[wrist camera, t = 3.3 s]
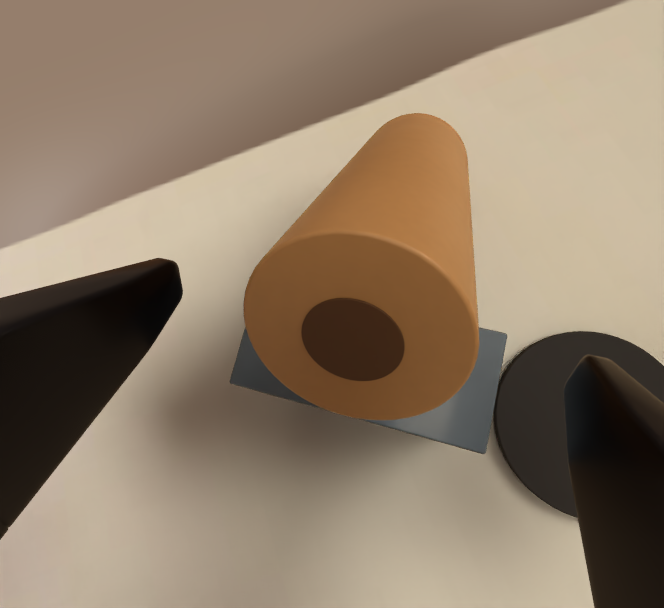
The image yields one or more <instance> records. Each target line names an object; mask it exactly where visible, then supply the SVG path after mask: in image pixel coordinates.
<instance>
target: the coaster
mask: <svg viewBox="0 0 664 608" xmlns="http://www.w3.org/2000/svg"><path fill="white" fill-rule="evenodd" d="M586 355H594V356H599V357H603V358H608V359H610V360H612V361H613V362H615V363H616V364H617V365H618V366H619V367H621V368H622V369H623V370H624V371H625V372H627V373H628V374H629V375H630V376H631V377H633V378H634V379H635V380H636V381H637V382H639V383H640V384H641V385H642V386H643V387H645V388H646V389H647V390H648V391H649V392H651V393H652V394H653V395H654V396H656V397H657V398H658V399H659V400H660V401H662V402H663V403H664V366H663V365H662V364H661V363H660V362H658V361H657V360H656V359H655V358H654V357H653V356H651V355H650V354H648V353H647V352H646V351H644V350H643V349H641V348H639V347H637V346H636V345H634V344H632V343H630V342H628V341H625V340H623V339H620V338H618V337H614V336H611V335H607V334H603V333H596V332H583V331H579V332H568V333H563V334H558V335H553V336H551V337H548V338H545V339H542V340H540V341H538V342H536V343H534V344H532V345H531V346H529V347H528V348H527V349H525V350H524V351H523V352H521V353H520V354H519V355H518V356H517V357H516V358H515V359H514V360H513V362H512V363H511V364H510V365H509V366H508V368H507V370H506V371H505V373H504V375H503V376H502V379H501V381H500V383H499V386H498V389H497V394H496V400H495V405H494V424H495V431H496V435H497V439H498V442H499V446H500V448H501V450H502V453H503V455H504V457H505V459H506V461H507V462H508V464H509V466H510V468H511V469H512V470H513V472H514V473H515V474H516V476H517V477H518V478H519V479H520V481H521V482H522V483H523V484H524V485H525V486H526V487H527V488H528V489H529V490H530V491H532V492H533V493H534V494H535V495H536V496H537V497H539V498H540V499H541V500H543V501H544V502H546V503H547V504H549V505H550V506H552V507H554V508H556V509H558V510H560V511H562V512H564V513H566V514H569V515H571V516H574V517H577V518H578V516H577V510H576V505H575V500H574V494H573V489H572V484H571V478H570V473H569V466H568V458H567V445H566V428H565V411H564V386H565V384H566V382H567V380H568V378H569V377H570V375H571V374H572V372H573V371H574V369H575V368H576V366H577V365H578V363H579V362H580V360H581V359H582V358H583V357H584V356H586Z"/></svg>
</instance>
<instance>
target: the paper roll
mask: <svg viewBox="0 0 664 608" xmlns="http://www.w3.org/2000/svg"><path fill="white" fill-rule="evenodd" d="M244 319H245V326H246V329H247V333H248V336H249V339H250V341H251V343H252V345H253V348H254V349H255V351H256V353H257V354H258V356H259V358H260V359H261V361H262V362H263V363H264V365H265V366H266V367H267V369H268V370H269V371H270V372H271V373H272V374H273V375H274V376H275V377H276V378H277V379H278V380H279V381H280V382H281V383H282V384H284V385H285V386H286V387H287V388H289V389H290V390H291V391H293V392H294V393H295V394H297V395H299V396H300V397H302V398H303V399H305V400H307V401H309V402H311V403H313V404H315V405H317V406H319V407H321V408H324V409H326V410H329V411H331V412H335V413H338V414H341V415H345V416H349V417H353V418H360V419H366V420H396V419H404V418H409V417H413V416H417V415H420V414H423V413H426V412H428V411H431V410H433V409H435V408H437V407H439V406H440V405H442V404H443V403H445V402H446V401H448V400H449V399H451V398H452V397H453V396H454V395H455V394H456V393H457V392H458V391H459V390H460V389H461V388H462V386H463V385H464V384H465V382H466V381H467V380H468V378H469V376H470V374H471V372H472V371H473V369H474V366H475V363H476V360H477V357H478V350H479V326H478V311H477V296H476V281H475V266H474V250H473V235H472V220H471V205H470V190H469V175H468V160H467V153H466V149H465V146H464V143H463V142H462V140H461V138H460V136H459V135H458V133H457V132H456V131H455V130H454V129H453V128H452V127H451V126H450V125H449V124H448V123H446V122H445V121H443V120H441V119H440V118H437V117H435V116H432V115H428V114H420V113H414V114H406V115H402V116H399V117H397V118H394V119H392V120H390V121H389V122H387V123H386V124H384V125H383V126H382V127H381V128H380V129H378V130H377V131H376V133H375V134H374V135H373V136H372V137H371V138H370V139H369V140H368V141H367V143H366V144H365V145H364V146H363V147H362V148H361V149H360V150H359V151H358V153H357V154H356V155H355V156H354V157H353V158H352V159H351V160H350V161H349V163H348V164H347V165H346V166H345V167H344V168H343V169H342V170H341V171H340V173H339V174H338V175H337V176H336V177H335V178H334V179H333V180H332V182H331V183H330V184H329V185H328V186H327V187H326V188H325V189H324V190H323V192H322V193H321V194H320V195H319V196H318V197H317V198H316V199H315V200H314V202H313V203H312V204H311V205H310V206H309V207H308V208H307V209H306V210H305V212H304V213H303V214H302V215H301V216H300V217H299V218H298V219H297V221H296V222H295V223H294V224H293V225H292V226H291V227H290V228H289V229H288V231H287V232H286V233H285V234H284V235H283V236H282V237H281V238H280V239H279V241H278V242H277V243H276V244H275V245H274V246H273V247H272V248H271V249H270V251H269V252H268V253H267V254H266V255H265V256H264V257H263V259H262V260H261V261H260V262H259V264H258V265H257V266H256V267H255V269H254V271H253V273H252V275H251V276H250V278H249V281H248V284H247V287H246V291H245V298H244Z"/></svg>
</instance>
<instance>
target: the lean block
mask: <svg viewBox="0 0 664 608" xmlns="http://www.w3.org/2000/svg"><path fill="white" fill-rule="evenodd" d="M506 339H507V334H505V333H502V332H497V331H493V330H488V329H484V328H479V350H478V357H477V360H476V363H475V366H474V369H473V371H472V372H471V374H470V376H469V378H468V380H467V381H466V382H465V384H464V385H463V386H462V388H461V389H460V390H459V391H458V392H457V393H456V394H455V395H454V396H453V397H452V398H451V399H449V400H448V401H446V402H445V403H443V404H442V405H440V406H439V407H437V408H435V409H433V410H431V411H428V412H426V413H423V414H420V415H417V416H413V417H409V418H404V419H396V420H366V419H360V418H355V419H359V420H363V421H366V422H370V423H373V424H377V425H381V426H384V427H388V428H391V429H395V430H398V431H402V432H406V433H409V434H413V435H416V436H420V437H423V438H427V439H431V440H434V441H438V442H441V443H445V444H449V445H452V446H456V447H459V448H463V449H466V450H470V451H474V452H477V453H481V454H485V453H486V449H487V444H488V438H489V433H490V427H491V422H492V416H493V411H494V405H495V400H496V394H497V389H498V383H499V378H500V372H501V367H502V361H503V356H504V350H505V345H506ZM230 383H231V384H234V385H237V386H241V387H244V388H248V389H252V390H255V391H259V392H262V393H266V394H269V395H273V396H277V397H280V398H284V399H287V400H291V401H295V402H298V403H302V404H305V405H309V406H312V407H316V408H320V409H323V410H326V409H324V408H321V407H319V406H317V405H315V404H313V403H311V402H309V401H307V400H305V399H303V398H302V397H300V396H299V395H297V394H295V393H294V392H293V391H291V390H290V389H289V388H287V387H286V386H285V385H284V384H282V383H281V382H280V381H279V380H278V379H277V378H276V377H275V376H274V375H273V374H272V373H271V372H270V371H269V370H268V369H267V367H266V366H265V365H264V363H263V362H262V361H261V359H260V358H259V356H258V354H257V353H256V351H255V349H254V348H253V345H252V343H251V341H250V339H249V336H248V333H247V329H246V326H245V330H244V333H243V337H242V340H241V344H240V347H239V351H238V354H237V358H236V361H235V365H234V368H233V372H232V375H231V379H230ZM327 411H329V410H327ZM330 412H331V411H330ZM334 413H335V412H334ZM348 417H349V416H348ZM352 418H353V417H352Z"/></svg>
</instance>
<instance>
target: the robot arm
mask: <svg viewBox="0 0 664 608" xmlns="http://www.w3.org/2000/svg"><path fill="white" fill-rule="evenodd" d="M182 294H183V289H182V284H181V278H180V273H179V268H178V265H177V264H176V263H175V262H174V261H171V260H167V259H162V258H156V259H152V260H148V261H144V262H140V263H136V264H132V265H128V266H124V267H121V268H117V269H113V270H109V271H105V272H101V273H97V274H93V275H89V276H85V277H81V278H77V279H73V280H70V281H66V282H62V283H58V284H54V285H50V286H46V287H42V288H38V289H34V290H30V291H26V292H22V293H19V294H15V295H11V296H7V297H3V298H0V539H1V538H2V537H3V536H4V534H5V533H6V532H7V530H8V527H10V526H11V525H12V524H13V522H14V521H15V520H16V519H17V517H18V516H19V515H20V514H21V512H22V511H23V510H24V508H25V507H26V506H27V505H28V503H29V502H30V501H31V500H32V498H33V497H34V496H35V494H36V493H37V492H38V491H39V489H40V488H41V487H42V486H43V484H44V483H45V482H46V480H47V479H48V478H49V477H50V475H51V474H52V473H53V472H54V470H55V469H56V468H57V466H58V465H59V464H60V463H61V461H62V460H63V459H64V458H65V456H66V455H67V454H68V453H69V451H70V450H71V449H72V447H73V446H74V445H75V444H76V442H77V441H78V440H79V439H80V437H81V436H82V435H83V433H84V432H85V431H86V430H87V428H88V427H89V426H90V425H91V423H92V422H93V421H94V419H95V418H96V417H97V416H98V414H99V413H100V412H101V411H102V409H103V408H104V407H105V405H106V404H107V403H108V402H109V400H110V399H111V398H112V397H113V395H114V394H115V393H116V392H117V390H118V389H119V388H120V386H121V385H122V384H123V383H124V381H125V380H126V379H127V378H128V376H129V375H130V374H131V372H132V371H133V370H134V369H135V367H136V366H137V365H138V364H139V362H140V361H141V360H142V358H143V357H144V356H145V355H146V353H147V352H148V351H149V349H150V348H151V346H152V345H153V343H154V342H155V340H156V339H157V337H158V335H159V334H160V332H161V331H162V329H163V328H164V326H165V324H166V323H167V321H168V320H169V318H170V316H171V315H172V313H173V312H174V310H175V308H176V307H177V305H178V304H179V302H180V300H181V298H182ZM564 411H565V428H566V445H567V458H568V466H569V473H570V478H571V484H572V489H573V494H574V500H575V505H576V510H577V516H578V521H579V527H580V532H581V537H582V543H583V548H584V553H585V559H586V564H587V569H588V575H589V580H590V586H591V591H592V596H593V602H594V607H595V608H664V403H663V402H662V401H660V400H659V399H658V398H657V397H656V396H654V395H653V394H652V393H651V392H649V391H648V390H647V389H646V388H645V387H643V386H642V385H641V384H640V383H639V382H637V381H636V380H635V379H634V378H633V377H631V376H630V375H629V374H628V373H627V372H625V371H624V370H623V369H622V368H621V367H619V366H618V365H617V364H616V363H615V362H613V361H612V360H610V359H608V358H603V357H599V356H594V355H586V356H584V357H583V358H582V359H581V360H580V362H579V363H578V365H577V366H576V368H575V369H574V371H573V372H572V374H571V375H570V377H569V378H568V380H567V382H566V384H565V386H564Z"/></svg>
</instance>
